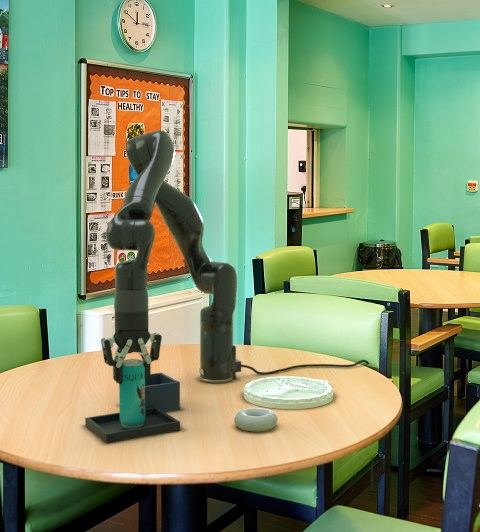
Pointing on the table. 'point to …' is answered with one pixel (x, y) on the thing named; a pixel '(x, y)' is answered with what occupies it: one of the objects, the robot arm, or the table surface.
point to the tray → (113, 430)
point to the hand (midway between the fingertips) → (132, 380)
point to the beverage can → (132, 394)
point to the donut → (255, 419)
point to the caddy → (162, 392)
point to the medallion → (288, 392)
